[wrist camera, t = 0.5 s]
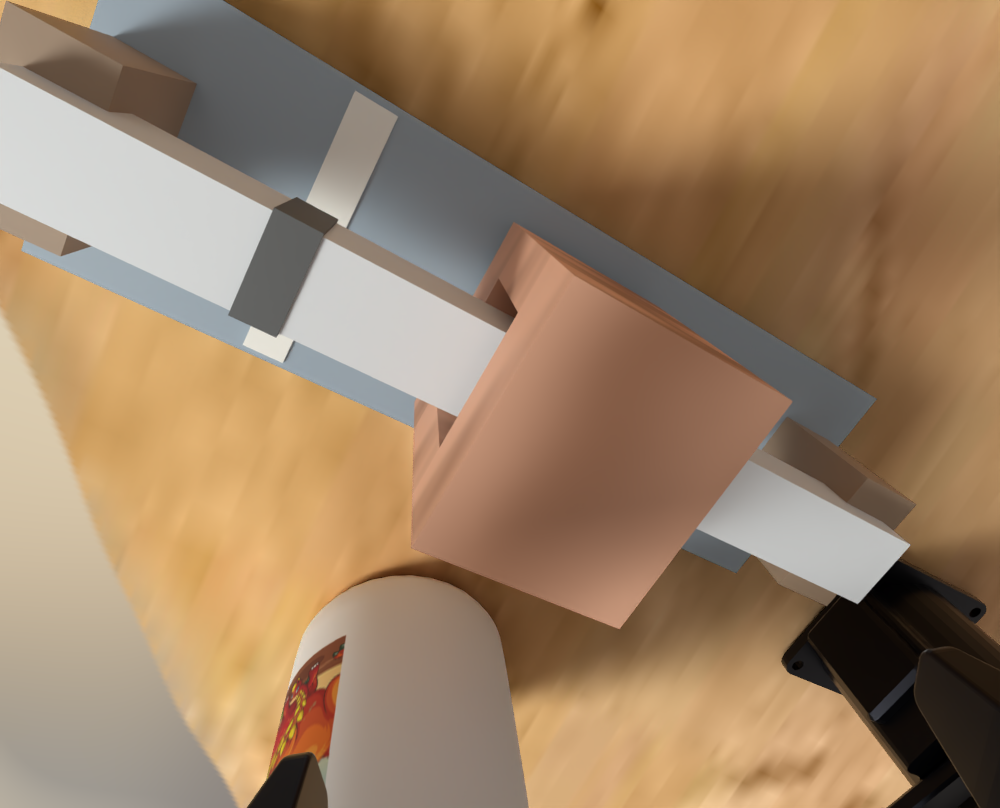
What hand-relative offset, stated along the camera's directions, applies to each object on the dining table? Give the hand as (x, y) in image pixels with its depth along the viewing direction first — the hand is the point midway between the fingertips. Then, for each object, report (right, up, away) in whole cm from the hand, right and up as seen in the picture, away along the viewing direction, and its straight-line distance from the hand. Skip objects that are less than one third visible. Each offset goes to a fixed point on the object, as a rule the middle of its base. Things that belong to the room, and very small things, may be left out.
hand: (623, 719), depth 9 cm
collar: (-1, +6, +10) cm, 11 cm away
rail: (-2, +7, +11) cm, 13 cm away
